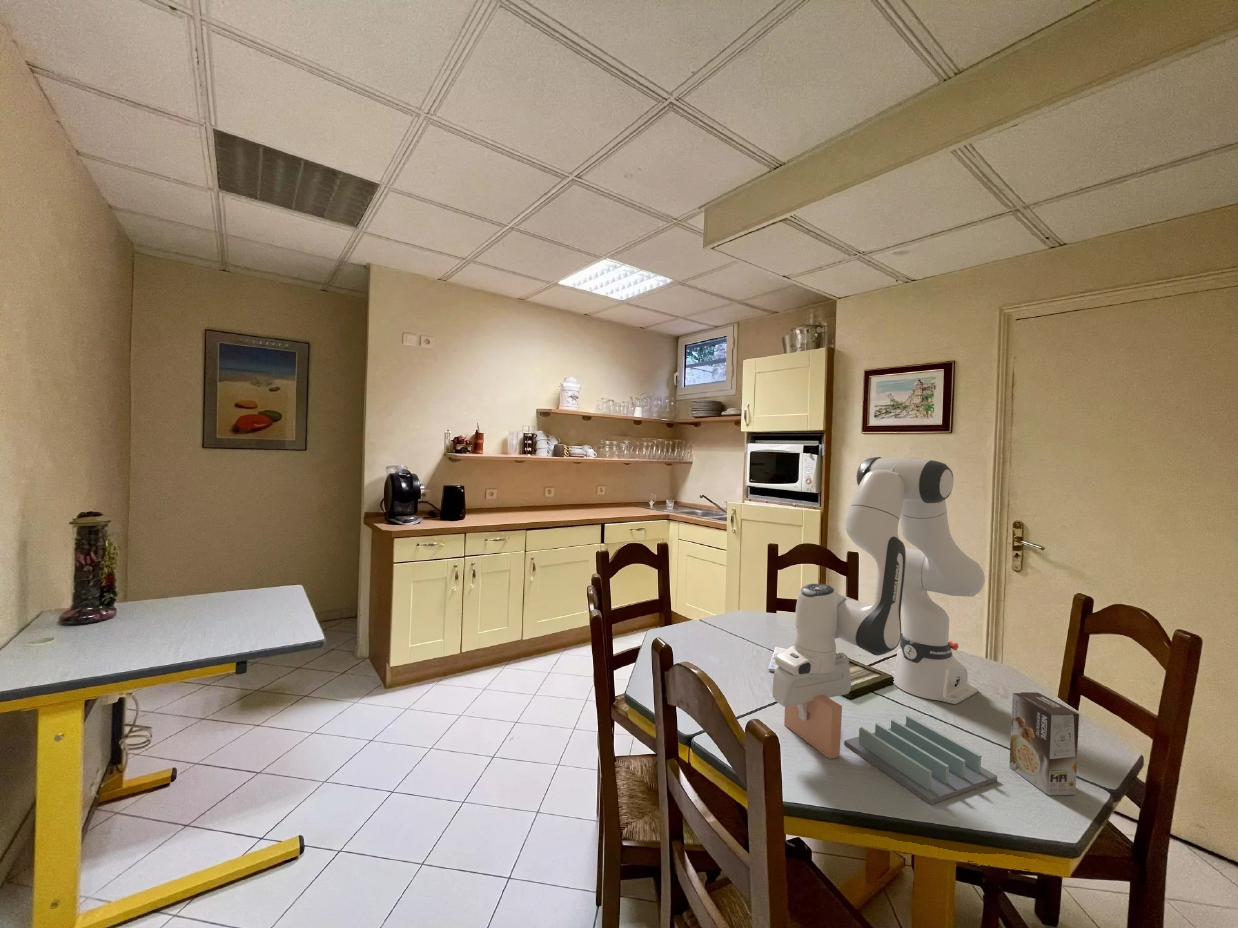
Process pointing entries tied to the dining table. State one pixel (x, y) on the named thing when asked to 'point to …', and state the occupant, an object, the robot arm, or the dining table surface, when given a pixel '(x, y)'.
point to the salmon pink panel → (818, 725)
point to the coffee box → (1044, 743)
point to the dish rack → (922, 759)
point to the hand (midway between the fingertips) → (811, 717)
